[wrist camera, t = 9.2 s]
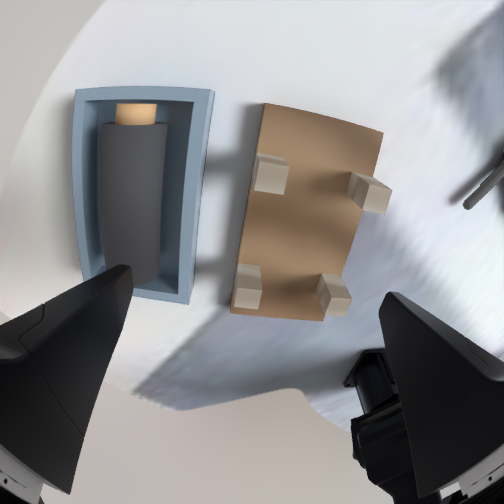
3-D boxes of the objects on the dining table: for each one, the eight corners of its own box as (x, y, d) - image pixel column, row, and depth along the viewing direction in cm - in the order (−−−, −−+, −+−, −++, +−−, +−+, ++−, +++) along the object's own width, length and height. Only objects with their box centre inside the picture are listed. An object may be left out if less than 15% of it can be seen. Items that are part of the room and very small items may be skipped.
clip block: (319, 312, 25) (330, 346, 21) (230, 303, 24) (228, 339, 20) (376, 130, 17) (406, 139, 14) (264, 103, 17) (270, 102, 13)
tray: (193, 282, 23) (188, 304, 21) (98, 268, 22) (84, 287, 20) (215, 92, 16) (210, 89, 14) (95, 89, 15) (75, 89, 13)
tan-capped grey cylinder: (165, 257, 21) (152, 289, 18) (117, 251, 21) (97, 280, 17) (176, 104, 16) (160, 105, 12) (119, 103, 15) (91, 105, 12)
